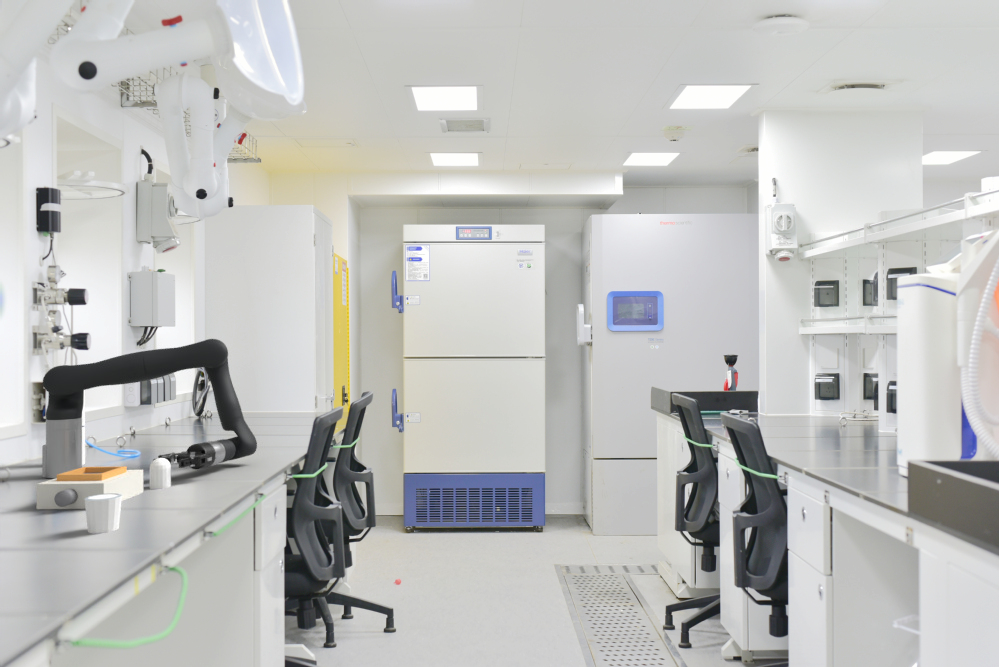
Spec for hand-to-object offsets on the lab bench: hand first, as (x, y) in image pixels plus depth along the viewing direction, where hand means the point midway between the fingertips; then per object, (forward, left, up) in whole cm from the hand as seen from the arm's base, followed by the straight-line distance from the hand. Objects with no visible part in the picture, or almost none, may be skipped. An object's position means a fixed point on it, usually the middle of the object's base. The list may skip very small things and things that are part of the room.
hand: (166, 463), depth 190 cm
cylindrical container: (-49, +36, -6) cm, 61 cm away
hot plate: (-10, -20, -6) cm, 23 cm away
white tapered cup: (+9, -46, -6) cm, 48 cm away
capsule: (-1, -2, -6) cm, 7 cm away
